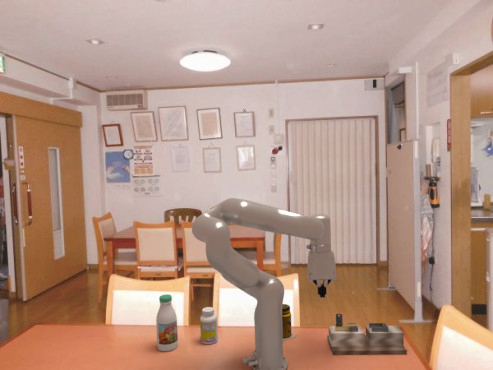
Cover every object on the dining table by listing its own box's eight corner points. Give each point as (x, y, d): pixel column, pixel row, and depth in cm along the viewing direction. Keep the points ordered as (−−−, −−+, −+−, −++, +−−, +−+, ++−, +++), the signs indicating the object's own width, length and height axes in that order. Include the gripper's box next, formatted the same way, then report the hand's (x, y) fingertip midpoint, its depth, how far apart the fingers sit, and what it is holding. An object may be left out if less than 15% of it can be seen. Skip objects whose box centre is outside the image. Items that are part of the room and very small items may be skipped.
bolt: (335, 330, 140) (335, 316, 139) (334, 327, 142) (334, 313, 142) (357, 330, 139) (357, 315, 139) (356, 327, 142) (355, 313, 141)
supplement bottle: (205, 336, 153) (204, 305, 152) (220, 338, 151) (219, 306, 150) (197, 343, 147) (196, 311, 146) (213, 346, 145) (212, 313, 144)
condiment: (296, 336, 151) (295, 306, 150) (279, 342, 146) (278, 311, 145) (284, 329, 157) (283, 301, 156) (268, 335, 152) (267, 306, 152)
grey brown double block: (333, 354, 135) (332, 337, 135) (327, 339, 147) (327, 322, 147) (406, 354, 134) (406, 336, 134) (395, 338, 146) (394, 322, 146)
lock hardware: (350, 332, 139) (349, 327, 139) (347, 327, 143) (347, 323, 143) (388, 331, 138) (388, 327, 138) (384, 326, 142) (384, 322, 142)
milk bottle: (153, 349, 143) (150, 298, 142) (166, 340, 150) (164, 291, 149) (169, 353, 140) (166, 301, 138) (182, 344, 146) (179, 294, 145)
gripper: (301, 251, 136) (303, 300, 137) (343, 249, 135) (344, 299, 136) (299, 246, 143) (301, 293, 145) (339, 244, 143) (340, 292, 144)
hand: (322, 296), depth 141 cm, fingers closed
